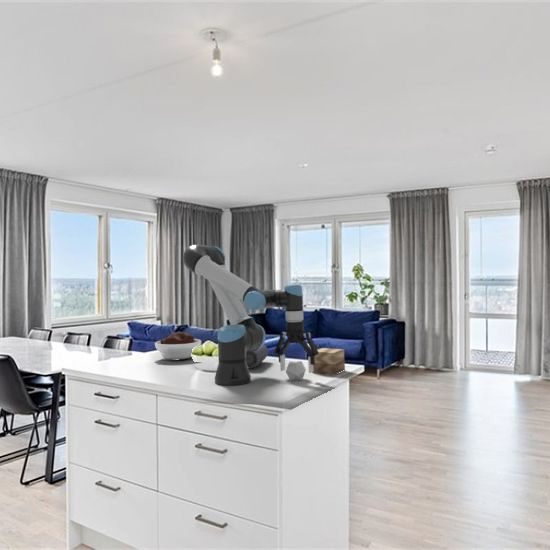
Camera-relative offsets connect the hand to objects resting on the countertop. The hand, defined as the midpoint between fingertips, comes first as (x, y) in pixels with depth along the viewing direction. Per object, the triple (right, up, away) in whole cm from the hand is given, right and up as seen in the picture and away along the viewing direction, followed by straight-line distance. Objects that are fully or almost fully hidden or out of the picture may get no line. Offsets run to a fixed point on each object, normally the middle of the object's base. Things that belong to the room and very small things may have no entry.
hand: (296, 371), depth 206 cm
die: (0, -4, 0) cm, 4 cm away
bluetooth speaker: (-19, -4, +34) cm, 40 cm away
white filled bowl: (-62, -5, +60) cm, 86 cm away
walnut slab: (+15, -4, +15) cm, 22 cm away
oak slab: (+15, +1, +16) cm, 22 cm away
